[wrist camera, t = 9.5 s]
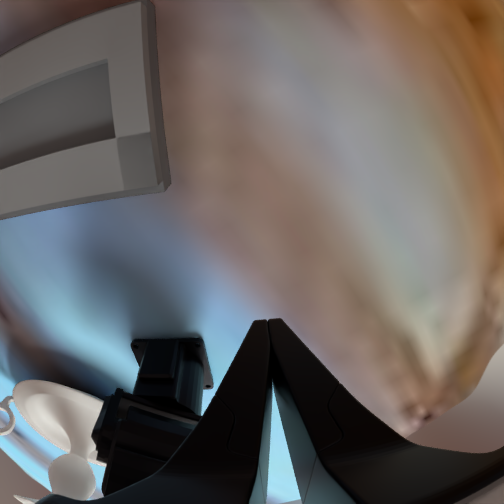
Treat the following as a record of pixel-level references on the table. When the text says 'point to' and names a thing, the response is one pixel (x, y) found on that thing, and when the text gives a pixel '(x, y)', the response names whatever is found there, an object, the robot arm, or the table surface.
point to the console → (83, 113)
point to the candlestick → (60, 432)
